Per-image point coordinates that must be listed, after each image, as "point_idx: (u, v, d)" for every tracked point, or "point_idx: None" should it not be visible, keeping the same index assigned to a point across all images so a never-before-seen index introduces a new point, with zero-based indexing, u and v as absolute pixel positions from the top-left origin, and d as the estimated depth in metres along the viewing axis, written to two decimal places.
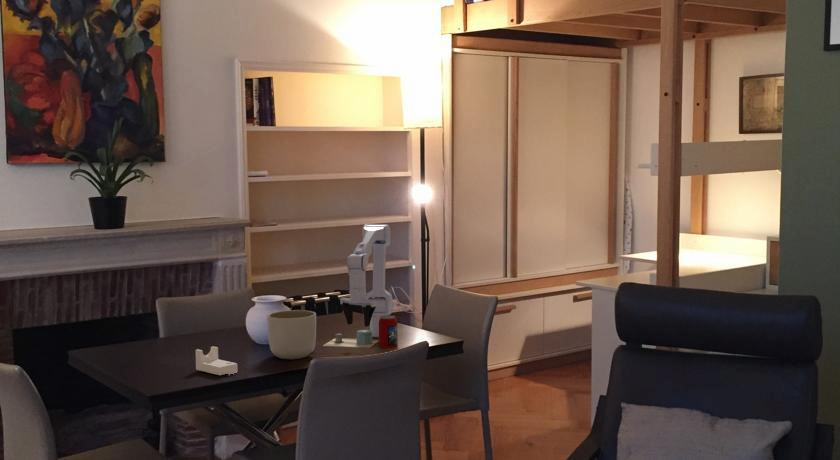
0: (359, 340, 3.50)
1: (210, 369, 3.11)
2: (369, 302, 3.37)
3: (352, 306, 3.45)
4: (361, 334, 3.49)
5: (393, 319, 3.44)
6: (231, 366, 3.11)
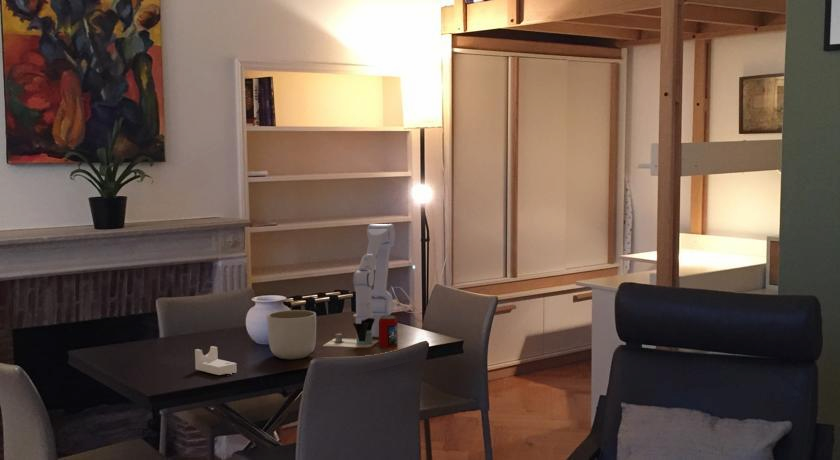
0: None
1: (209, 369, 3.11)
2: (356, 318, 3.46)
3: (370, 321, 3.54)
4: None
5: (393, 319, 3.44)
6: (230, 366, 3.11)
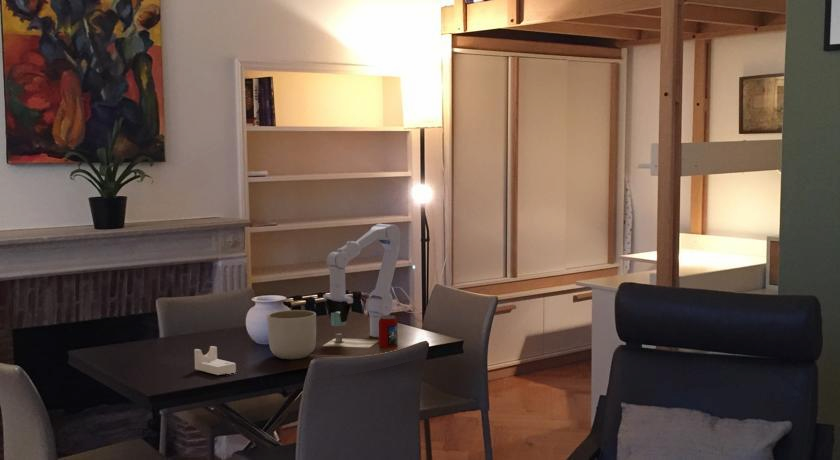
0: (340, 321, 3.51)
1: (208, 369, 3.11)
2: (346, 299, 3.48)
3: (336, 302, 3.56)
4: None
5: (393, 319, 3.44)
6: (229, 366, 3.11)
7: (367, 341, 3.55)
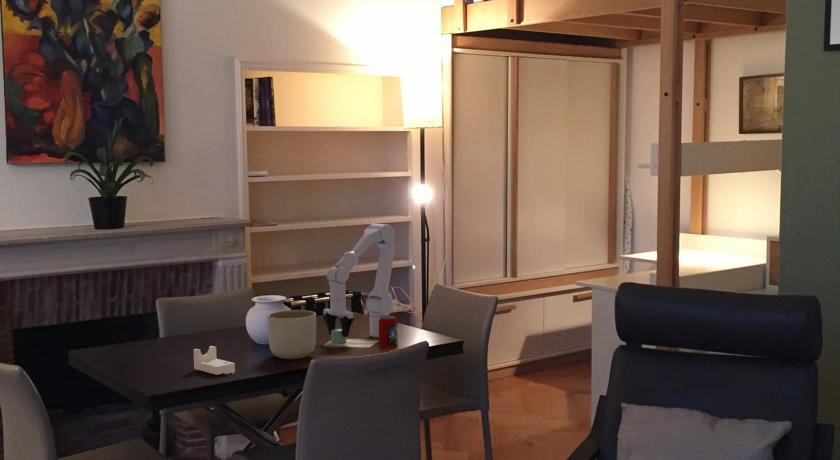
0: (341, 339, 3.52)
1: (207, 368, 3.12)
2: (346, 314, 3.49)
3: (335, 317, 3.57)
4: None
5: (393, 319, 3.44)
6: (228, 365, 3.12)
7: (367, 341, 3.55)
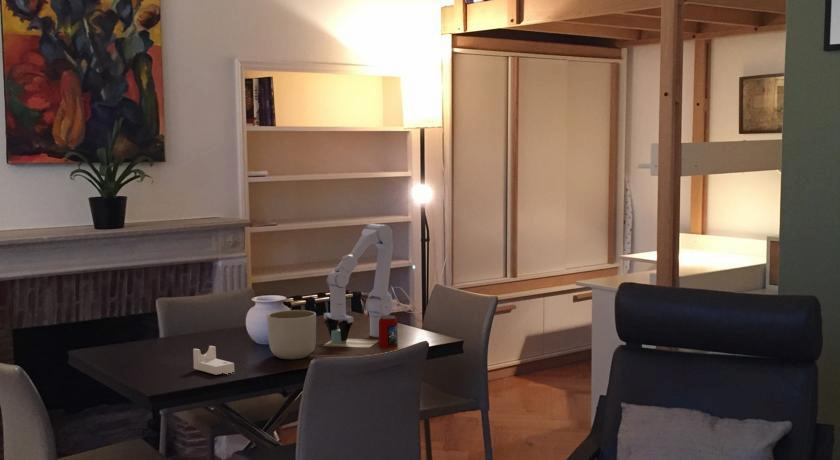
0: None
1: (207, 368, 3.12)
2: (346, 318, 3.49)
3: (336, 321, 3.57)
4: None
5: (393, 319, 3.44)
6: (228, 365, 3.12)
7: (367, 341, 3.55)
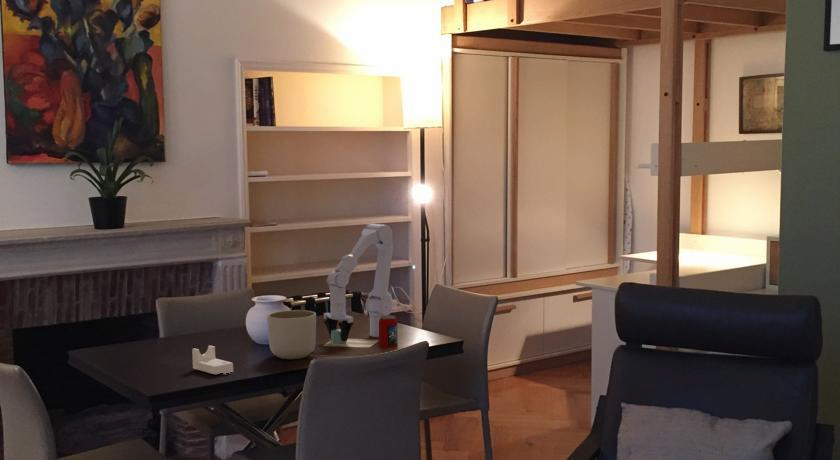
0: (334, 339, 3.52)
1: (206, 368, 3.12)
2: (346, 318, 3.49)
3: (336, 321, 3.57)
4: (336, 333, 3.51)
5: (393, 319, 3.44)
6: (226, 365, 3.12)
7: (367, 341, 3.55)
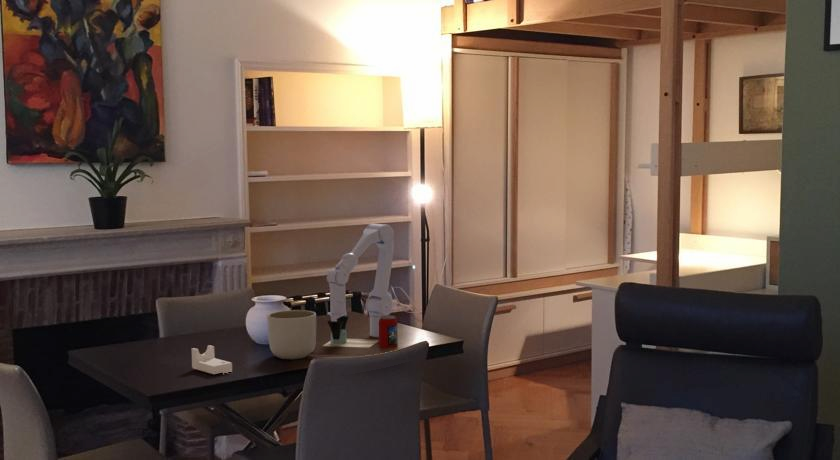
0: (331, 338, 3.54)
1: (205, 368, 3.13)
2: None
3: (344, 319, 3.57)
4: (331, 332, 3.53)
5: (393, 319, 3.44)
6: (225, 365, 3.12)
7: (367, 341, 3.55)
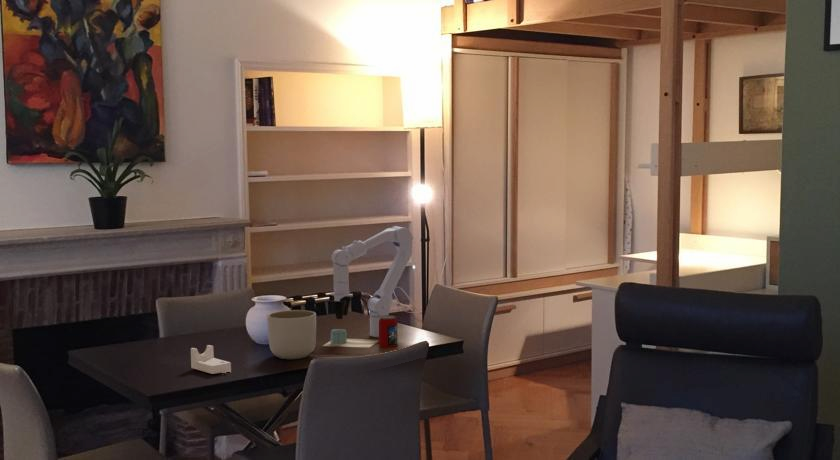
0: (331, 338, 3.54)
1: (204, 367, 3.13)
2: (334, 296, 3.54)
3: (348, 299, 3.64)
4: (331, 332, 3.53)
5: (393, 319, 3.44)
6: (224, 365, 3.13)
7: (367, 341, 3.55)
